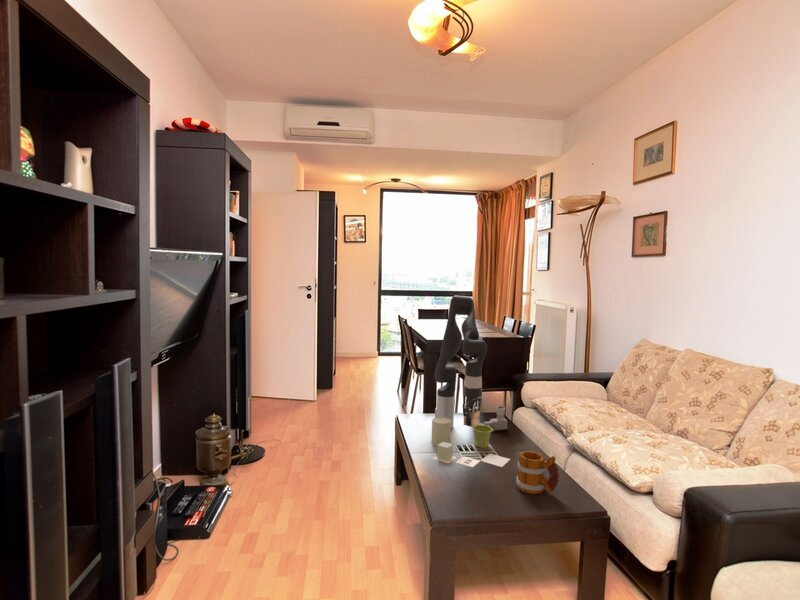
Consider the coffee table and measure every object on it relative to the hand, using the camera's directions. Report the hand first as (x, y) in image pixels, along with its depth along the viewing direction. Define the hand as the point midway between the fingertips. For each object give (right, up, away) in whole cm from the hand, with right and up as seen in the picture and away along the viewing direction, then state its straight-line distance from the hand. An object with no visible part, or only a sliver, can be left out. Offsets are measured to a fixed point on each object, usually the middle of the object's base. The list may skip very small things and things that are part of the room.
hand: (471, 423), depth 194 cm
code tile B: (-11, -17, +4) cm, 21 cm away
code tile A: (-1, -17, +1) cm, 17 cm away
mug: (+22, -20, -22) cm, 37 cm away
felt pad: (+11, -17, +3) cm, 21 cm away
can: (-11, -16, +21) cm, 29 cm away
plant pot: (+8, -16, +20) cm, 27 cm away
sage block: (-11, -16, +4) cm, 20 cm away
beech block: (0, 0, 0) cm, 0 cm away
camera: (+18, -15, +43) cm, 49 cm away
